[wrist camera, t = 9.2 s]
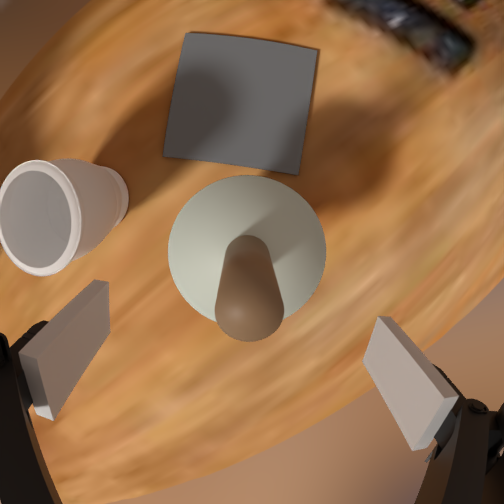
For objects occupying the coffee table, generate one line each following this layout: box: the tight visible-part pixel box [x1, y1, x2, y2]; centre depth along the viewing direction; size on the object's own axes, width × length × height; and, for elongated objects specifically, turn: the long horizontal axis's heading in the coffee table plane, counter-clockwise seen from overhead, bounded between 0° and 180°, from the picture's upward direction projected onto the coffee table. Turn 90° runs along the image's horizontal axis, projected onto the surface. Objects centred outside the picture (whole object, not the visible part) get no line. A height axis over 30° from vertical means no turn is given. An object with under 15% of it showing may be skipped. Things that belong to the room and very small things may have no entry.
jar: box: [0, 159, 129, 276], centre depth 30 cm, size 11×10×15 cm
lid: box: [168, 175, 326, 342], centre depth 22 cm, size 13×13×11 cm
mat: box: [163, 33, 317, 175], centre depth 34 cm, size 16×16×1 cm
